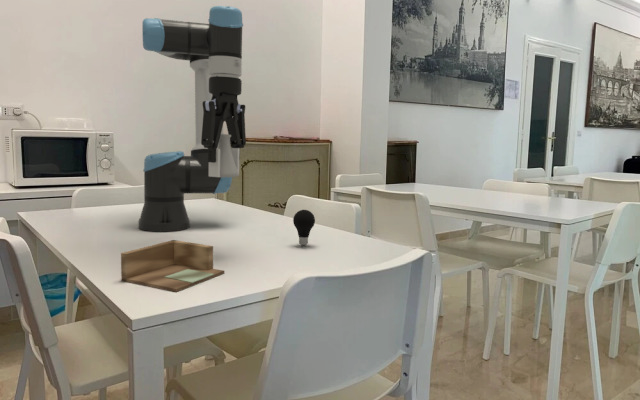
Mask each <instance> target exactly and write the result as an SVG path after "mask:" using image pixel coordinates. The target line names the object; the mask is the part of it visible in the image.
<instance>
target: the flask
mask: <svg viewBox="0 0 640 400" xmlns="http://www.w3.org/2000/svg"><path fill="white" fill-rule="evenodd" d="M230 137H231V135H228V133H227V134H225V133H223V134H221V135H220V140H219V145H218V149H220V177H232V178H237V177H239V176H240V173H239V174H238V171H237V168H236V165H235V162H234V159H233V155H232V152H231V148H232V147H231V144H230Z"/></svg>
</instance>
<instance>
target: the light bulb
mask: <svg viewBox="0 0 640 400" xmlns="http://www.w3.org/2000/svg"><path fill="white" fill-rule="evenodd" d="M314 215H315V214H313V212H312V211H311V210H307V209H301V210H298V211H297V212H295V214H294V215H293V219H292V222H293V225H294V227H295V229H296V230H297V236H298V243H299V244H300V245H301V247H305V246H307V245H308V243H309V236H310V233H311V231H312V228H314V227H315V223H316V218H315V216H314Z"/></svg>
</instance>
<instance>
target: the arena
mask: <svg viewBox="0 0 640 400" xmlns="http://www.w3.org/2000/svg"><path fill="white" fill-rule="evenodd" d="M120 264H121V265H120V266H121V267H120V270H121V273H120V274H121V275H120V276H121V278H120V279H121V281H122V282H127V283H130V284H135V285H140V286H145V287H151V288H154V289H161V290H165V291H169V292H175V293H177V292H180V291H183V290H185V289H188V288H191V287H193V286H195V285H196V286H197V285H198V284H201V283H204V282H206V281H209V280H211V279H214V278H216V277H219V276H221V275H225V270H224V269H222V270H221V269H217V268H214V245H209V244H203V243H194V242H189V241H181V240H177V239H176V240H175V239H172V240H169V241H164V242H163V241H162V242H159V243H156V244H152V245H148V246H144V247H141V248H136V249H132V250H129V251H124V252H121V253H120Z"/></svg>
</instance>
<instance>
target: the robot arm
mask: <svg viewBox="0 0 640 400" xmlns="http://www.w3.org/2000/svg"><path fill="white" fill-rule="evenodd" d="M208 16H209V17H208V23H205V22H203V23H202V22H201V23H200V22H190V21H183V20H182V21H181V20H180V21H179V20H173V19H172V20H171V19H163V18H162V19H161V18H155V17H154V18H148V17H147V18H146V17H145V18H144V19H143V20H142V47H143V49H144V50H145V51H149V52H155V53H158V54H159V55H161V56H163V57H168V58H169V59H173V60H174V59H175V60H179V61H180V60H182V61H189V67H190V68H191V69H192V70H193V71H194V108H195V110H194V112H195V113H194V114H195V115H194V118H195V120H194V121H195V145H194V147H192V149H191V150H190V155H185V153H184V151H181V150H179V151H168V152H166V151H165V152H158V153H152V154H148V155H147V156H145V158H144V162H143V163H144V164H143V165H144V166H143V173H144V178H143V179H144V180H143V181H144V185H143V186H144V188H143V189H144V190H143V191H144V196H143V197H144V199H143V200H144V203H143V206H142V210H141V214H140V218H139V219H138V229H140V230H142V231H147V232H176V231H181V230H187V229H189V228H190V225H191V224H190V222H191V221H190V218H189V216H188V213H187V212H188V211H187V209H186V205H185V194H213V195H215V194H225V193H227V192H228V191H229V190H230V188H231V186H232V185H231V184H232V181H233V177H220V149H218V145H219V140H220V135H221V134H224V122H225V124H226V128H227V134H228V135H231V137H230V147H231V152H232V155H233V159H234V162H235V165H236V168H237V171H238V174H239V175H240V159H241V149H244V148H245V146H246V144H247V141H246V140H247V139H246V137H247V136H246V122H245V119H246V118H245V115H246V114H245V113H246V105H245V104H240V103H239V101H238V100H239V99H238V96H241V94H242V84H243V83H242V80H241V77H242V65H243V64H242V63H243V62H242V58H243V57H242V54H243V53H242V52H243V51H242V50H243V49H242V47H243V27H244V23H243V12H242V11H241V9H239V8H237V7H233V6H230V5H229V6H228V5H216V6H212V7H211V8H210V10H209V15H208Z"/></svg>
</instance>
